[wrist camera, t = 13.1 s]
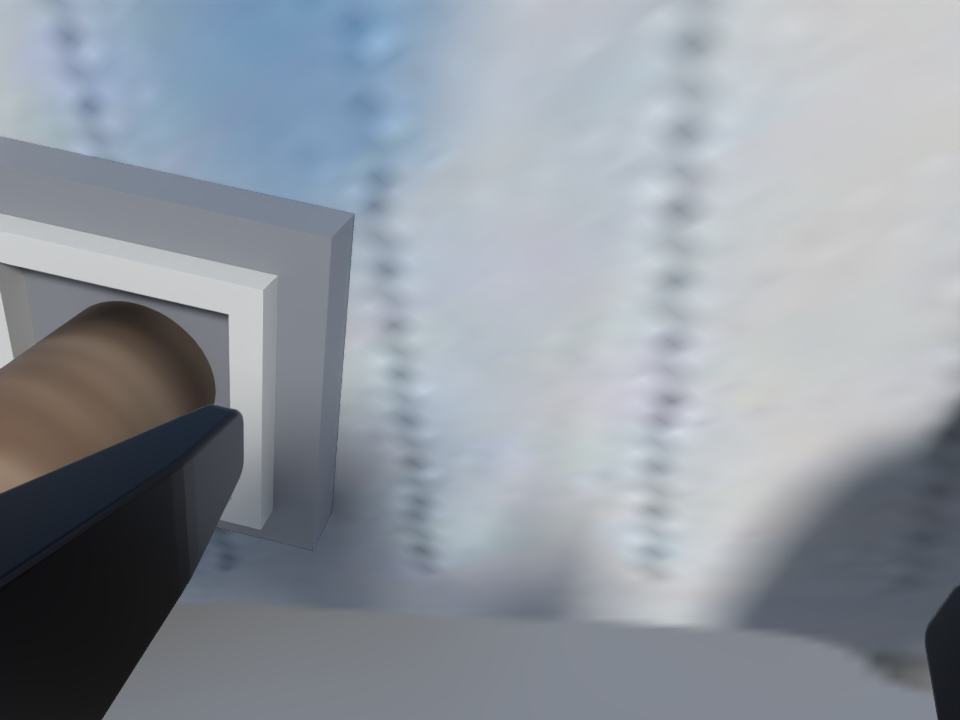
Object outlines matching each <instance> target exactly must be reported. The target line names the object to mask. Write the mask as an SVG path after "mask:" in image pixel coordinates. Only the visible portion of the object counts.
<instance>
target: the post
mask: <svg viewBox="0 0 960 720" xmlns="http://www.w3.org/2000/svg"><path fill="white" fill-rule="evenodd" d="M215 396H216V385H215V380H214V375H213V372H212V369H211V366H210V364H209V362H208V360H207V358H206V356H205V354H204V353H203V351H202V349H201V348H200V347H199V345H198V344H197V343H196V341H195V340H194V339H193V338H192V337H191V336H190V335H189V334H188V333H187V332H186V331H185V330H184V329H183V328H182V327H181V326H180V325H178V324H177V323H176V322H174V321H173V320H171V319H170V318H168V317H167V316H165V315H163V314H162V313H160V312H158V311H156V310H153V309H151V308H149V307H146V306H143V305H140V304H136V303H132V302H125V301H107V302H101V303H98V304H95V305H92V306H90V307H88V308H86V309H85V310H83V311H82V312H80V313H79V314H77V315H76V316H75V317H73V318H72V319H70V320H69V321H67V322H66V323H65V324H63V325H62V326H60V327H59V328H57V329H56V330H55V331H53V332H52V333H50V334H49V335H48V336H46V337H45V338H43V339H42V340H40V341H39V342H38V343H36V344H35V345H33V346H32V347H30V348H29V349H28V350H26V351H25V352H23V353H22V354H20V355H19V356H18V357H16V358H15V359H13V360H12V361H11V362H9V363H8V364H6V365H5V366H3V367H2V368H1V369H0V493H2V492H4V491H6V490H9V489H11V488H13V487H16V486H18V485H20V484H23V483H25V482H27V481H30V480H32V479H34V478H37V477H39V476H41V475H44V474H46V473H48V472H51V471H53V470H56V469H58V468H60V467H63V466H65V465H67V464H70V463H72V462H74V461H77V460H79V459H81V458H84V457H86V456H88V455H91V454H93V453H95V452H98V451H100V450H102V449H105V448H107V447H109V446H112V445H114V444H116V443H119V442H121V441H123V440H126V439H128V438H130V437H133V436H135V435H137V434H140V433H142V432H144V431H147V430H149V429H151V428H154V427H156V426H158V425H161V424H163V423H165V422H168V421H170V420H172V419H175V418H177V417H179V416H182V415H184V414H187V413H189V412H191V411H194V410H196V409H198V408H201V407H203V406H206V405H209V404H214V403H215Z"/></svg>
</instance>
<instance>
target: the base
mask: <svg viewBox="0 0 960 720" xmlns="http://www.w3.org/2000/svg"><path fill="white" fill-rule="evenodd" d="M353 227H354V214H353V213H348V212H344V211H339V210H334V209H330V208H325V207H321V206H316V205H311V204H307V203H302V202H298V201H293V200H288V199H284V198H279V197H275V196H270V195H265V194H261V193H256V192H252V191H247V190H242V189H238V188H233V187H229V186H224V185H219V184H215V183H210V182H206V181H201V180H196V179H192V178H187V177H183V176H178V175H173V174H169V173H164V172H160V171H155V170H150V169H146V168H141V167H137V166H132V165H127V164H123V163H118V162H114V161H109V160H104V159H100V158H95V157H91V156H86V155H81V154H77V153H72V152H68V151H63V150H58V149H54V148H49V147H45V146H40V145H35V144H31V143H26V142H22V141H17V140H12V139H8V138H3V137H0V369H1V368H2V367H3V366H5V365H6V364H8V363H9V362H11V361H12V360H13V359H15V358H16V357H18V356H19V355H20V354H22V353H23V352H25V351H26V350H28V349H29V348H30V347H32V346H33V345H35V344H36V343H38V342H39V341H40V340H42V339H43V338H45V337H46V336H48V335H49V334H50V333H52V332H53V331H55V330H56V329H57V328H59V327H60V326H62V325H63V324H65V323H66V322H67V321H69V320H70V319H72V318H73V317H75V316H76V315H77V314H79V313H80V312H82V311H83V310H85V309H86V308H88V307H90V306H92V305H95V304H98V303H101V302H107V301H125V302H132V303H136V304H140V305H143V306H146V307H149V308H151V309H153V310H156V311H158V312H160V313H162V314H163V315H165V316H167V317H168V318H170V319H171V320H173V321H174V322H176V323H177V324H178V325H180V326H181V327H182V328H183V329H184V330H185V331H186V332H187V333H188V334H189V335H190V336H191V337H192V338H193V339H194V340H195V341H196V343H197V344H198V345H199V347H200V348H201V349H202V351H203V353H204V354H205V356H206V358H207V360H208V362H209V364H210V366H211V369H212V372H213V375H214V380H215V385H216V396H215V403H214V404H215V405H219V406H224V407H228V408H232V409H236V410H238V411H239V412H241V414H242V416H243V420H244V464H243V470H242V473H241V476H240V479H239V481H238V483H237V485H236V487H235V489H234V491H233V493H232V495H231V497H230V500H229V502H228V504H227V506H226V508H225V510H224V512H223V514H222V516H221V518H220V520H219V522H218V524H217V526H216V527H218V528H222V529H226V530H230V531H234V532H238V533H242V534H246V535H250V536H254V537H258V538H262V539H266V540H270V541H274V542H278V543H283V544H287V545H291V546H295V547H299V548H303V549H307V550H311V551H313V549H314V547H315V545H316V543H317V541H318V539H319V537H320V535H321V533H322V531H323V529H324V527H325V525H326V523H327V521H328V519H329V517H330V515H331V513H332V502H333V488H334V475H335V462H336V449H337V436H338V423H339V410H340V397H341V384H342V371H343V358H344V345H345V332H346V318H347V305H348V292H349V279H350V266H351V253H352V240H353Z"/></svg>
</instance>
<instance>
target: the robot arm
mask: <svg viewBox="0 0 960 720" xmlns="http://www.w3.org/2000/svg"><path fill="white" fill-rule="evenodd" d="M243 464H244V420H243V416H242V414H241V412H239V411H238V410H236V409H232V408H228V407H224V406H219V405H215V404H209V405H206V406H203V407H201V408H198V409H196V410H194V411H191V412H189V413H187V414H184V415H182V416H179V417H177V418H175V419H172V420H170V421H168V422H165V423H163V424H161V425H158V426H156V427H154V428H151V429H149V430H147V431H144V432H142V433H140V434H137V435H135V436H133V437H130V438H128V439H126V440H123V441H121V442H119V443H116V444H114V445H112V446H109V447H107V448H105V449H102V450H100V451H98V452H95V453H93V454H91V455H88V456H86V457H84V458H81V459H79V460H77V461H74V462H72V463H70V464H67V465H65V466H63V467H60V468H58V469H56V470H53V471H51V472H48V473H46V474H44V475H41V476H39V477H37V478H34V479H32V480H30V481H27V482H25V483H23V484H20V485H18V486H16V487H13V488H11V489H9V490H6V491H4V492H2V493H0V720H102V718H103V717H104V715H105V714H106V712H107V711H108V709H109V707H110V706H111V704H112V703H113V701H114V700H115V698H116V696H117V695H118V693H119V692H120V690H121V688H122V687H123V685H124V683H125V682H126V681H127V679H128V678H129V676H130V674H131V673H132V671H133V669H134V668H135V666H136V665H137V663H138V662H139V660H140V659H141V657H142V656H143V654H144V652H145V651H146V649H147V647H148V646H149V644H150V643H151V641H152V640H153V638H154V637H155V635H156V633H157V632H158V630H159V629H160V627H161V626H162V624H163V622H164V621H165V619H166V618H167V616H168V615H169V613H170V611H171V610H172V608H173V607H174V605H175V604H176V602H177V600H178V599H179V597H180V596H181V594H182V592H183V591H184V589H185V587H186V586H187V584H188V582H189V581H190V579H191V577H192V575H193V573H194V571H195V569H196V567H197V565H198V563H199V561H200V559H201V557H202V555H203V553H204V551H205V549H206V547H207V545H208V543H209V541H210V539H211V537H212V535H213V533H214V530H215V528H216V526H217V524H218V522H219V520H220V518H221V516H222V514H223V512H224V510H225V508H226V506H227V504H228V502H229V500H230V497H231V495H232V493H233V491H234V489H235V487H236V485H237V483H238V481H239V479H240V476H241V473H242V470H243ZM925 648H926V654H927V660H928V666H929V671H930V677H931V683H932V689H933V695H934V700H935V706H936V712H937V718H938V720H960V583H959V584H957V585H956V586H955V587H954V588H953V590H952V591H951V593H950V594H949V595H948V597H947V598H946V600H945V601H944V602H943V604H942V605H941V607H940V608H939V609H938V611H937V612H936V614H935V615H934V616H933V618H932V619H931V621H930V622H929V624H928V626H927V629H926V633H925Z"/></svg>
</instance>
